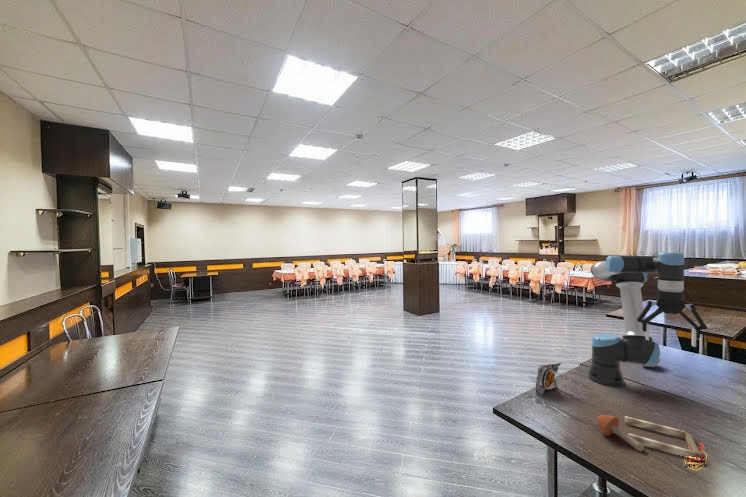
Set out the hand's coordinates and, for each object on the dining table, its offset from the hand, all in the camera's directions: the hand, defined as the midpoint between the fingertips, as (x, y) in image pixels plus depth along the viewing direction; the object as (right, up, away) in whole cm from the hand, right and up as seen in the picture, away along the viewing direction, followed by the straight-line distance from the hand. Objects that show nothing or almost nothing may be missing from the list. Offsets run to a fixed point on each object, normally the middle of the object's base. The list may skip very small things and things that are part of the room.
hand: (669, 342), depth 122 cm
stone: (+35, -31, +51) cm, 69 cm away
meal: (-36, -32, +23) cm, 53 cm away
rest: (-17, -32, -13) cm, 38 cm away
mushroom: (-28, -30, -20) cm, 46 cm away
